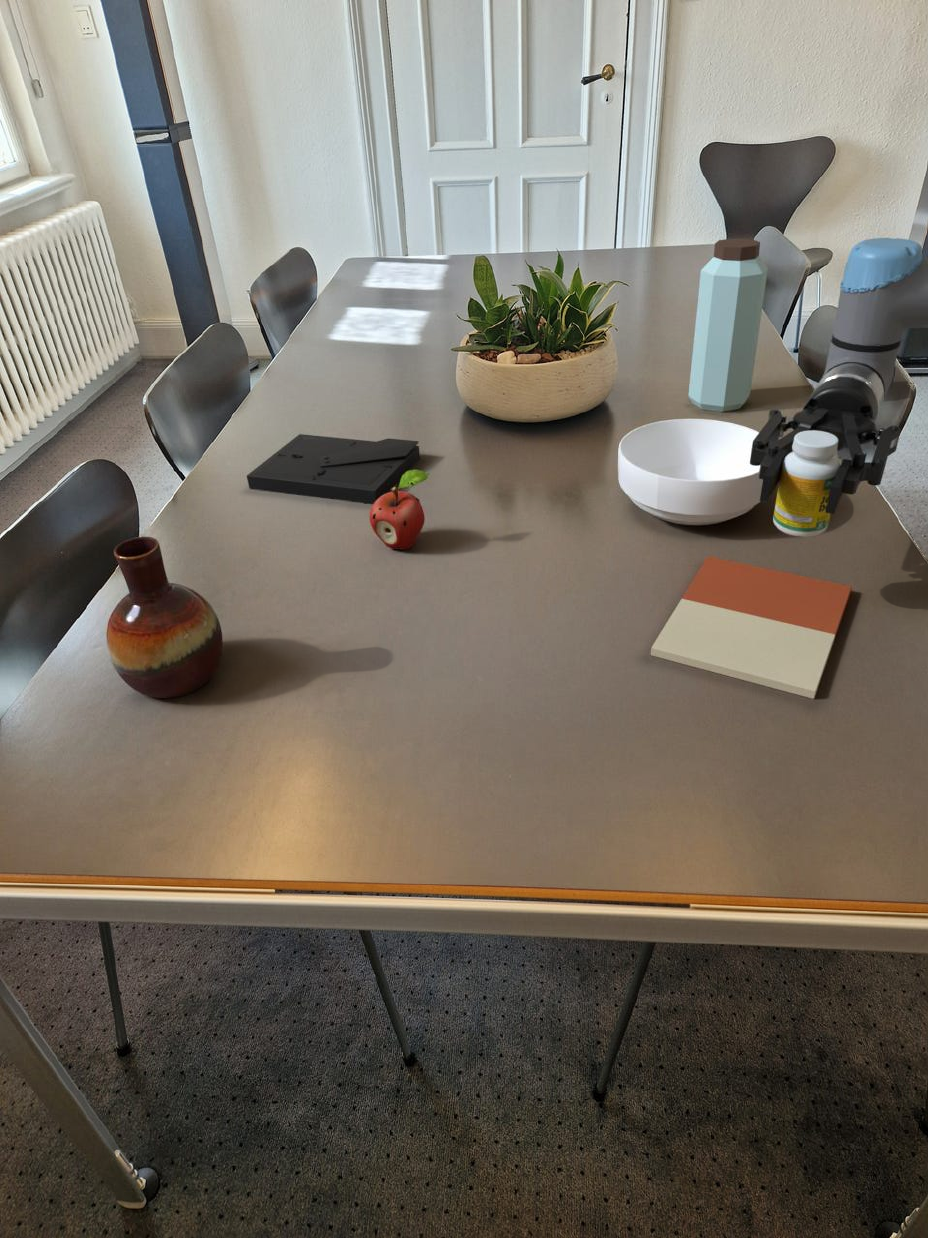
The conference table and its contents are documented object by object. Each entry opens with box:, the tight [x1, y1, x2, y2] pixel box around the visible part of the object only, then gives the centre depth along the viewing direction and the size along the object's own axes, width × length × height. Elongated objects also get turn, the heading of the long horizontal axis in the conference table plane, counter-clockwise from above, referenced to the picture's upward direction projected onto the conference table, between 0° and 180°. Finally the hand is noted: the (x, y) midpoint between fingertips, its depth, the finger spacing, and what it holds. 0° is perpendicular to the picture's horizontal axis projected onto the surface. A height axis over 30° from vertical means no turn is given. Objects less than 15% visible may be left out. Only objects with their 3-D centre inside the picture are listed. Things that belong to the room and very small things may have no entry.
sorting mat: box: [650, 555, 853, 700], centre depth 90 cm, size 16×20×1 cm
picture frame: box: [246, 433, 421, 505], centre depth 127 cm, size 16×3×21 cm
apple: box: [368, 468, 430, 550], centre depth 106 cm, size 8×7×10 cm
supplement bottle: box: [772, 430, 841, 538], centre depth 85 cm, size 5×5×10 cm
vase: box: [105, 536, 224, 699], centre depth 84 cm, size 11×11×15 cm
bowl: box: [617, 418, 763, 526], centre depth 110 cm, size 20×20×8 cm
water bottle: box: [688, 237, 769, 413], centre depth 135 cm, size 10×10×25 cm
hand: (798, 494), depth 80 cm, fingers closed on supplement bottle, 5 cm apart
